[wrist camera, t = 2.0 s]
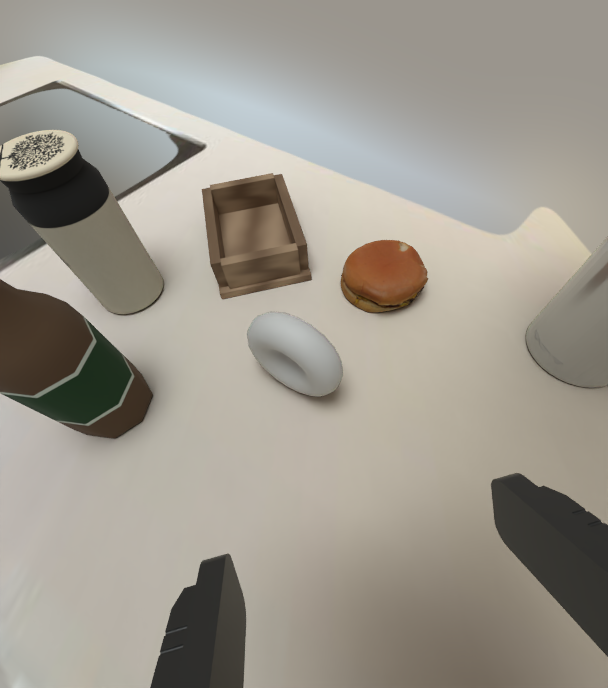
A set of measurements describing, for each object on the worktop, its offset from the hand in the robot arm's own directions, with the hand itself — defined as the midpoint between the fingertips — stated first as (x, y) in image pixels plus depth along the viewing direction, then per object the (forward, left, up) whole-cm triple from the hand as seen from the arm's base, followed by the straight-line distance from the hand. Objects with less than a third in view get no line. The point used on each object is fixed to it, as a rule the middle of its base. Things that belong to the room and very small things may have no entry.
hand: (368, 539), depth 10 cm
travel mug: (+18, -34, -21) cm, 44 cm away
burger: (-13, -26, -21) cm, 36 cm away
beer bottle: (+19, -18, -21) cm, 33 cm away
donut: (0, -16, -21) cm, 26 cm away
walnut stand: (+1, -38, -20) cm, 43 cm away
